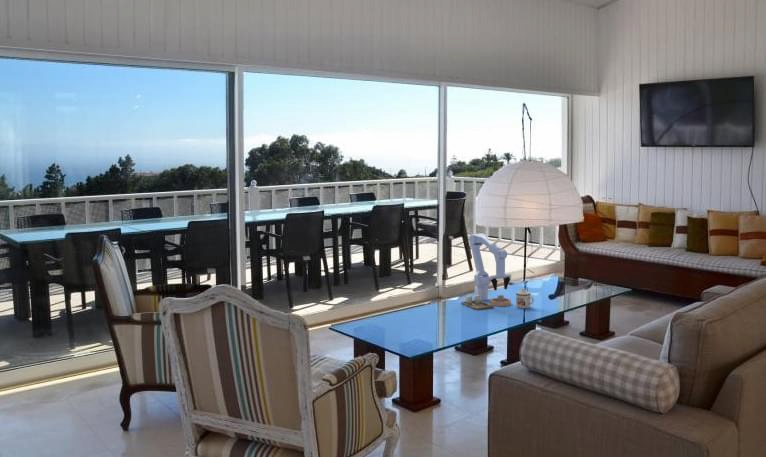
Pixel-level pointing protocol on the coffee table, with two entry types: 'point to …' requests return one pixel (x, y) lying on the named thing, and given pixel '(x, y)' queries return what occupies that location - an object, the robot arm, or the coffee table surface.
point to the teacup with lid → (523, 299)
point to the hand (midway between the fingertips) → (500, 289)
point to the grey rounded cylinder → (500, 298)
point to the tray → (478, 307)
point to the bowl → (495, 303)
